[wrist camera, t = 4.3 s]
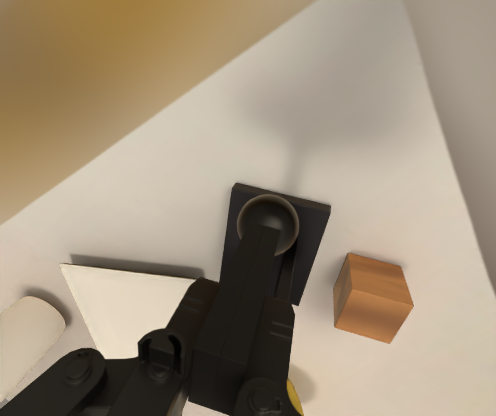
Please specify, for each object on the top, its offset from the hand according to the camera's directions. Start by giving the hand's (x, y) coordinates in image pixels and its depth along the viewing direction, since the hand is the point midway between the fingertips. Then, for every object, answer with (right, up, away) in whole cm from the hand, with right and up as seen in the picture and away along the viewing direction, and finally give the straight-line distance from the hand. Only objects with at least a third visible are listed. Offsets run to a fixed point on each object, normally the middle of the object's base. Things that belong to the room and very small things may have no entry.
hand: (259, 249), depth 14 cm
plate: (-14, -13, +27) cm, 33 cm away
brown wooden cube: (+11, -5, +16) cm, 20 cm away
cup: (-31, -14, +32) cm, 47 cm away
